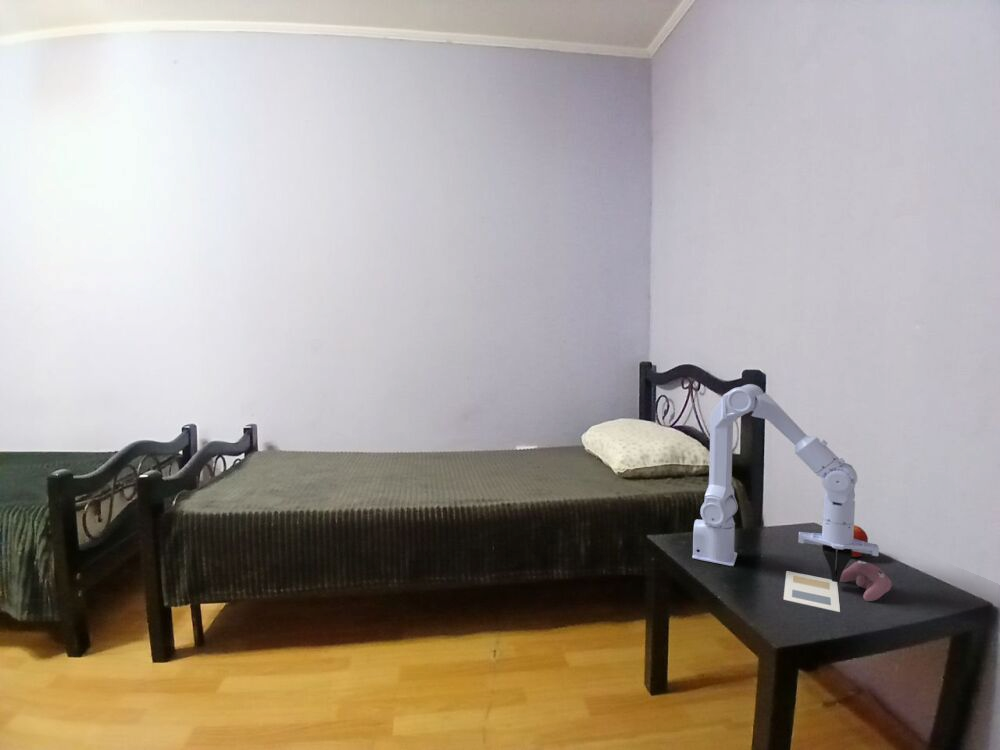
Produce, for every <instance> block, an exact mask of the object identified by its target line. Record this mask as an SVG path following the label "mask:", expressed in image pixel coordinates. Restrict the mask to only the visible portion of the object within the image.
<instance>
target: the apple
mask: <svg viewBox="0 0 1000 750" xmlns="http://www.w3.org/2000/svg"><path fill="white" fill-rule="evenodd" d="M853 539H856V540H860V541H864V542H868V543H869V541H868V540H869V537H868V534H867V533H866V531H864V529H863V528H862V527H861V526H858V525H855V524H854V534H853ZM836 551H837V549H836ZM863 554H864V553H861V552H855V551H852V558H858V557H861V556H862V555H863Z"/></svg>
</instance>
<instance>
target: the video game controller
mask: <svg viewBox="0 0 1000 750" xmlns="http://www.w3.org/2000/svg"><path fill="white" fill-rule="evenodd" d="M854 580H856V581H855V584H856V585H857V586H858V587H860V588H862V589H865V592H864V593H863V596H862V597H863V599H864V600H865V601H866V602H874V601H876V600H878V599H880V598H881V597H882V596H884V595H885V594H886V593H888V592H889V591H890V590H891V588H892V581H891V579H890V578H889V577H888V576H887V575H886V573H885V572H884V571H883V569H881V568H879V567H878V566H876V565H874V564H872V563H870V562H865V561H862V560H858V561H856V562H853V563H852V564H851V565H850V566H848V567H847V568H844V570H843V572H842V575H841V577H840V582H839V583H849V582H851V581H854ZM870 581H871V582H870Z"/></svg>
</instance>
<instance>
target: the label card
mask: <svg viewBox="0 0 1000 750" xmlns="http://www.w3.org/2000/svg"><path fill="white" fill-rule="evenodd" d="M783 591H784V592H783V600H784V601H788V602H792V603H796V604H801V605H805V606H811V607H815V608H819V609H824V610H827V611H828V610H829V611H833V612H837V613H841V608H840V607H841V605H840V598H839V587H838V582H834V581H832V578H831V579H830V578H824V577H819V576H815V575H810V574H805V573H798V572H795V571H789V570H786V573H785V581H784V589H783Z"/></svg>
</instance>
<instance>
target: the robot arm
mask: <svg viewBox="0 0 1000 750" xmlns="http://www.w3.org/2000/svg"><path fill="white" fill-rule="evenodd" d="M750 412H752V414H751V417H754V418H760V419H764V420H767V421H768V422H769V423H770V424H772V426H773V427H774V428H776V429H777V430H778V431H779V432H780V433H781V434H782V435H783V436H784V437H786V438H787V439H788V440H789V441H790V442H791V443H792V444H793V445H794V453H795V454H796V456H797V457H798V458H800V459H801V461H802V462H803V463H804V464H805V465H806V466H807V467H808V468H809V469H810V470H811V471H813V473H814V474H815V475H816V476H818V477H820V478H821V484H822V487H823V488H824V496H823V503H822V506H823V507H822V529H821V530H822V531H821V532H820V533H816V532H805V531H804V532H803V531H799V532H798V543H799V544H809V545H816V546H822V547H821V548H822V553H823V555H824V557H825V559H826V562H827V565H828V566H829V571H830V574H831V580H832V581H834V582H837V583H841V582H840V577H841V575H842V572H843V570H845V569H846V566H847V565H848V563H849V562H850V561H851V560H852V558H853V557H852V551H855V552H861V553H863V554H867V555H871V556H874V557H879V553H880V552H879V548H880V547H879V545H878V544H877V543H870V542H869V541H868V542H864V541H860V540H856V539H853V534H854V525H855V512H856V511H855V510H856V501H855V496H856V493H855V487H856V484H857V481H858V474H857V472H856V470H855V469H854V467H853V465H852V464H850V463H848V462H846V460H845V459H843V458H842V457H841V458H839V457H838V456H837V455H836V454H835V453H834V452H833V451H832V450H831V449H830V448H829V447H828V446H827V445H828V441H826V440H825V439H823V438H822V439H819V437H817V436H811V435H807V434H806V433H805V432H804V430H803V429H801V427H800V426H798V424H797V423H796V422H795V421H794V420H793V419H792V417H790V416H789V415H788V414H787V413H786V411H784V409H782V407H781V406H780V405H779V404H778V403H777V402H776V401H775V400H774V399H773V397H772V396H770V395H769V394H768V393H766V392H764V391H763V389H762V388H761V387H760V386H759V385H756V384H753V383H749V384H744V385H742V386H738V387H734V388H732V389H730V390H729V391H727V392H726V393H724V394H723V395H722V397H721V399H720V400H719V402H718V404H717V405H716V406H715V407H714V408H713V410H712V411H711V414H710V424H709V425H710V427H709V429H710V432H709V433H710V434H709V462H708V463H709V469H708V470H709V471H708V472H709V473H708V474H709V475H708V487H707V488H706V491H705V494H704V502H703V503H702V505H701V507H700V512H699V514H700V516H701V518H702V519H695V520H694V523H693V533H692V534H693V535H692V536H693V537H692V538H693V539H692V559H694V560H699V561H704V562H710V563H715V564H720V565H724V566H729V567H734V566H735V562H736V560H737V556H738V553H737V552H735V527H736V526H735V525H736V523H735V520H734V517H733V516H734V515H735V514H736V513H737V512H738V507H739V505H738V501H737V500H736V497H735V489H734V488H733V485H732V481H733V480H732V479H733V477H732V476H733V473H732V472H733V443H734V442H733V441H734V422H736V421H737V420H738V419H740V418H742V416H744V415H746V414H748V413H750ZM836 549H837V550H836Z"/></svg>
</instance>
